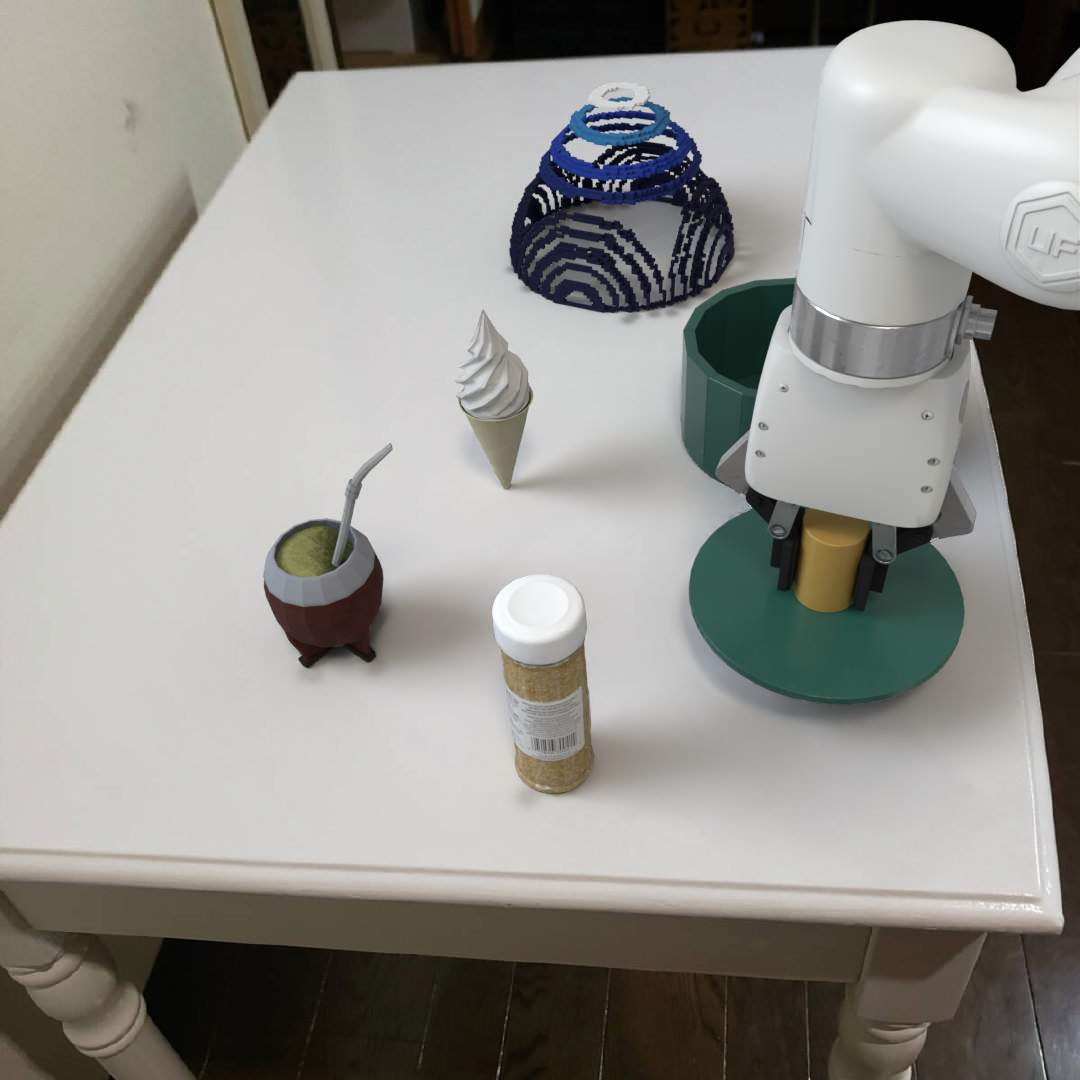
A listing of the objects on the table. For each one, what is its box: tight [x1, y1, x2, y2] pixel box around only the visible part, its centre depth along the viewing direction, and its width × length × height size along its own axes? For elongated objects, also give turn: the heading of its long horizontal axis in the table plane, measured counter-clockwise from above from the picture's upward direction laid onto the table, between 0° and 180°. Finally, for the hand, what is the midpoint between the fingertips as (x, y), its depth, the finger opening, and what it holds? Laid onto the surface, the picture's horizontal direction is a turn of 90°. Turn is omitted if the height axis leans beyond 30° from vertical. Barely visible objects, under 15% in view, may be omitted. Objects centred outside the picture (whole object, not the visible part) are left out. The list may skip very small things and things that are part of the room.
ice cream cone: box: [453, 309, 534, 490], centre depth 75 cm, size 5×5×15 cm
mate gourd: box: [262, 442, 394, 669], centre depth 66 cm, size 8×8×15 cm
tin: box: [680, 277, 795, 487], centre depth 79 cm, size 15×15×8 cm
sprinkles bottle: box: [491, 573, 595, 794], centre depth 59 cm, size 5×5×13 cm
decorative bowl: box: [508, 81, 736, 314], centre depth 97 cm, size 20×20×14 cm
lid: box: [688, 506, 966, 706], centre depth 63 cm, size 16×16×7 cm
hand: (825, 581), depth 64 cm, fingers closed on lid, 3 cm apart
